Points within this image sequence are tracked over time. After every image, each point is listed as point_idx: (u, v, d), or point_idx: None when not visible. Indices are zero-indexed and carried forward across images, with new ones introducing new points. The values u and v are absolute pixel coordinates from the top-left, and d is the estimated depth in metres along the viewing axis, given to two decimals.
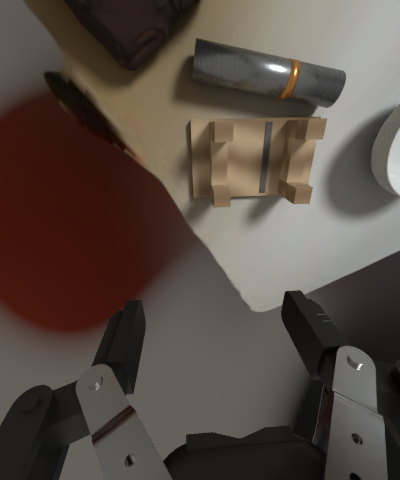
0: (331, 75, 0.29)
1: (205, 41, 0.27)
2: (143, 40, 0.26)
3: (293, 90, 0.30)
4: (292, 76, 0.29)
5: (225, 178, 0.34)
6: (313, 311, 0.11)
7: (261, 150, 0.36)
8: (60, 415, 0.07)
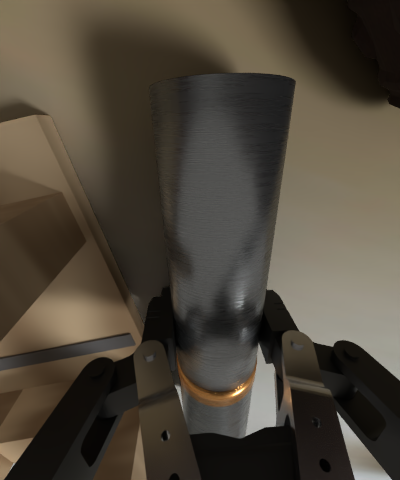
0: None
1: (285, 128, 0.06)
2: None
3: (192, 394, 0.12)
4: (217, 396, 0.11)
5: None
6: (270, 300, 0.11)
7: (63, 341, 0.13)
8: (117, 390, 0.08)
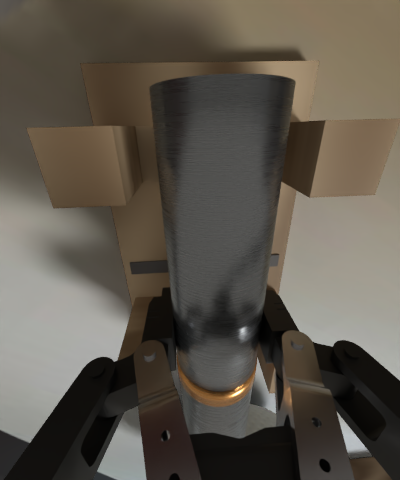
0: None
1: (285, 128, 0.06)
2: None
3: (192, 394, 0.12)
4: (217, 396, 0.11)
5: None
6: (270, 300, 0.11)
7: None
8: (117, 390, 0.08)
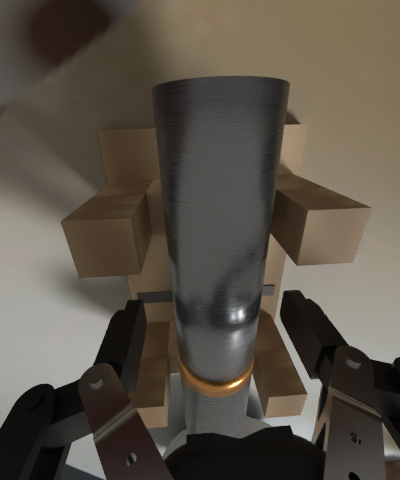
0: (230, 433, 0.14)
1: (279, 127, 0.07)
2: None
3: (191, 384, 0.12)
4: (215, 386, 0.11)
5: None
6: (311, 311, 0.11)
7: None
8: (62, 414, 0.07)
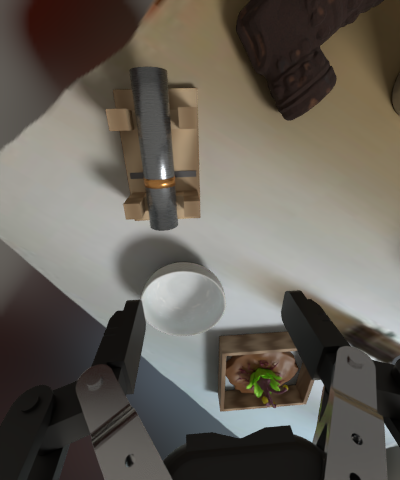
0: (165, 217, 0.33)
1: (161, 80, 0.26)
2: (258, 43, 0.28)
3: (148, 187, 0.31)
4: (154, 182, 0.30)
5: None
6: (313, 311, 0.11)
7: None
8: (60, 415, 0.07)
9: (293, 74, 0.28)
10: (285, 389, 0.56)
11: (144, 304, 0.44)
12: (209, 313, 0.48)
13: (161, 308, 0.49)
